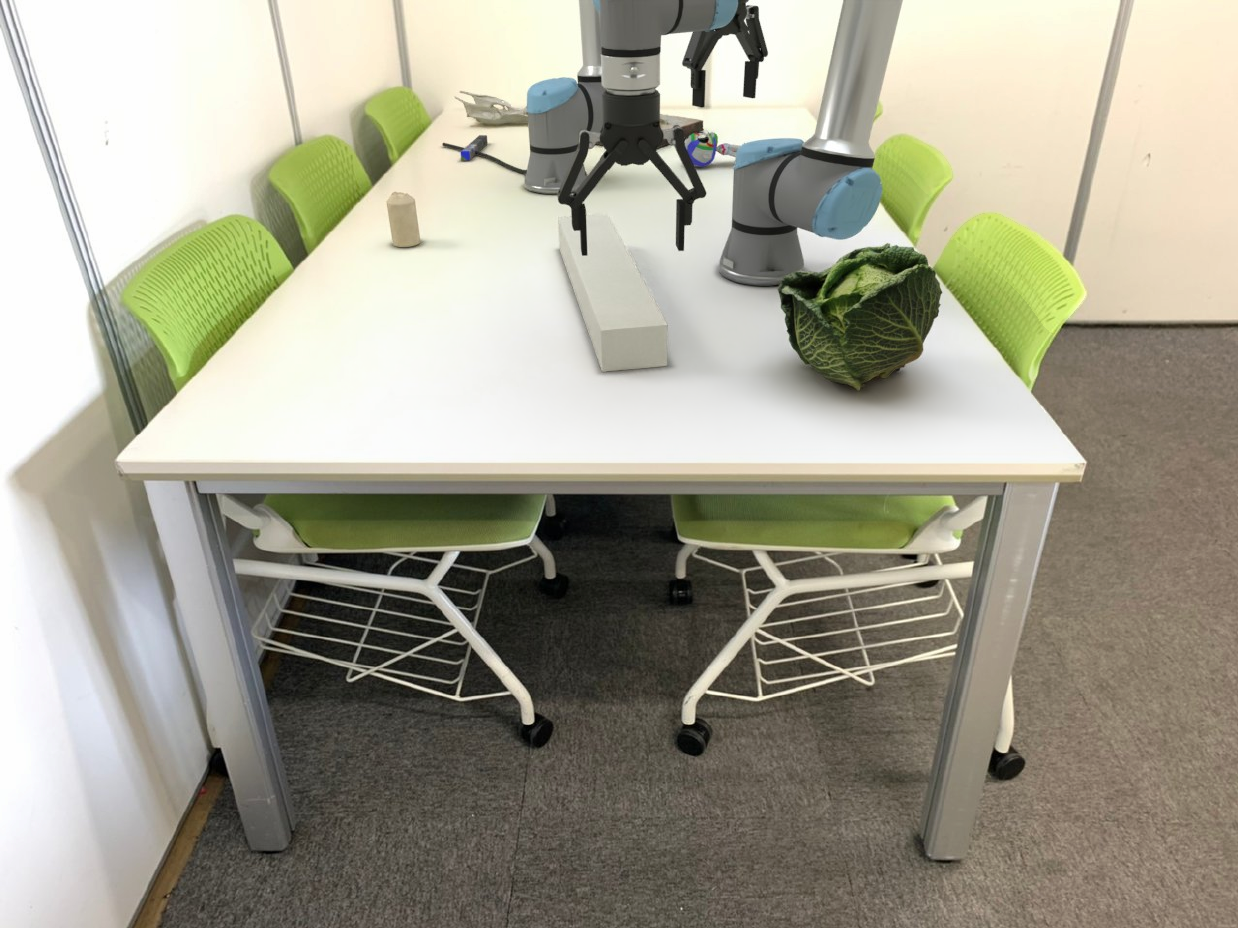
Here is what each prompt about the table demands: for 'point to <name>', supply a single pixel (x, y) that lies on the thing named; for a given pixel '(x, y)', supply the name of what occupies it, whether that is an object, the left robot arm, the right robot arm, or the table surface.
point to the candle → (403, 219)
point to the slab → (613, 297)
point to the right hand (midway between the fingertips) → (632, 250)
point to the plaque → (685, 123)
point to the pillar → (473, 147)
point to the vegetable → (862, 313)
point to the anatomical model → (493, 110)
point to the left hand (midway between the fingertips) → (724, 102)
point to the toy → (707, 148)
